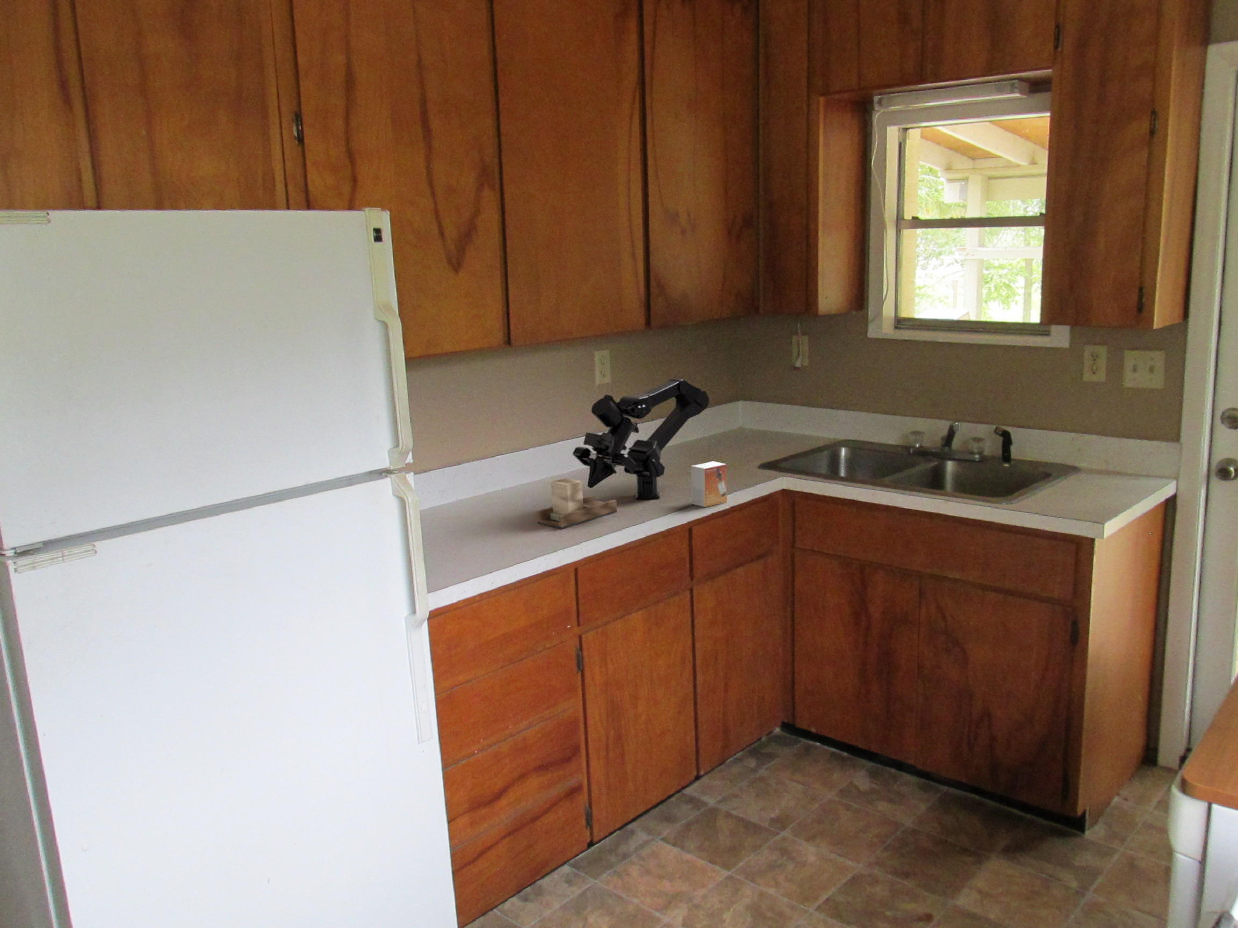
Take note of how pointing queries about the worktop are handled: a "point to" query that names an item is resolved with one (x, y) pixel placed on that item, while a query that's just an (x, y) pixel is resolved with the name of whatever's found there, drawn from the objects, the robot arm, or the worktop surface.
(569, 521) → the track
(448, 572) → the worktop surface
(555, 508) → the block
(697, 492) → the small box
